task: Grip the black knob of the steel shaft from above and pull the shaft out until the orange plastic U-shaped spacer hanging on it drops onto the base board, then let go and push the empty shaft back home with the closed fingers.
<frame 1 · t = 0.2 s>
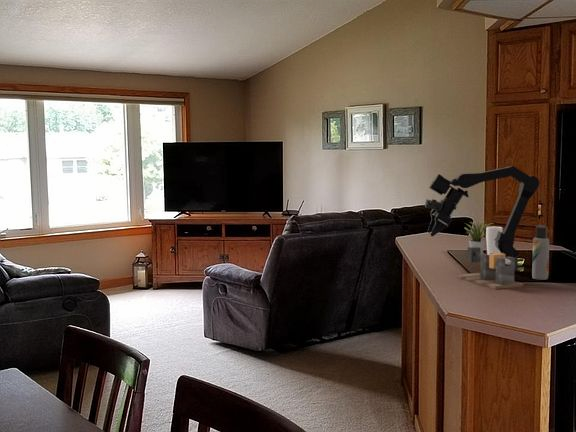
hand: (429, 234, 263), 15 cm above the table, tool tilted 30°, fingers open, 9 cm apart
shaft stand: (495, 283, 237), on the table
spacer: (497, 267, 235), point 6 cm above the table, touching shaft
lotion bottle: (540, 278, 245), on the table
shaft: (489, 258, 239), point 9 cm above the table, slide at 0.0 cm, touching spacer
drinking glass: (493, 262, 282), on the table
house plant: (479, 254, 303), on the table
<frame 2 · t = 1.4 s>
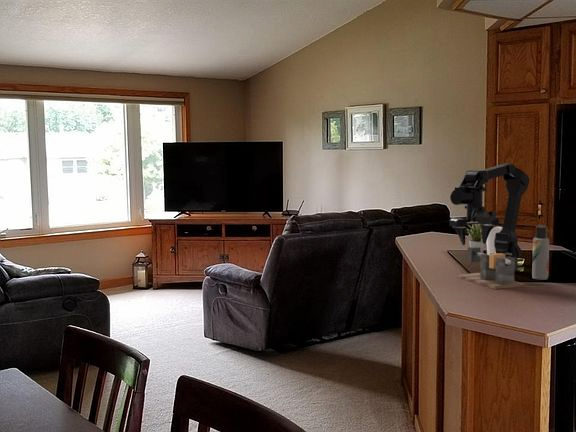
hand: (473, 244, 248), 13 cm above the table, tool pointing down, fingers open, 9 cm apart
nothing on the table moved.
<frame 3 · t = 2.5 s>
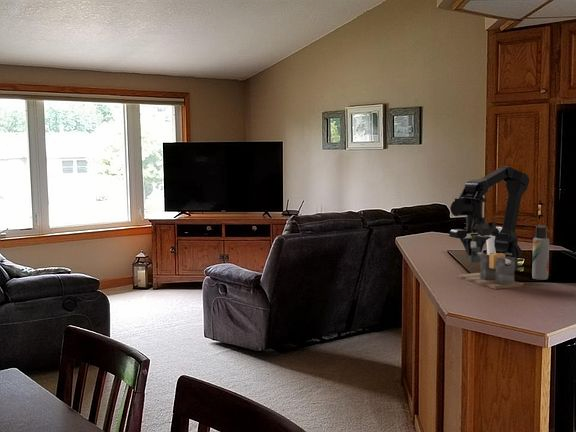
hand: (473, 255, 248), 9 cm above the table, tool pointing down, fingers closed on shaft, 4 cm apart
shaft: (489, 258, 239), point 9 cm above the table, slide at 0.0 cm, touching gripper, spacer
everything else where it was.
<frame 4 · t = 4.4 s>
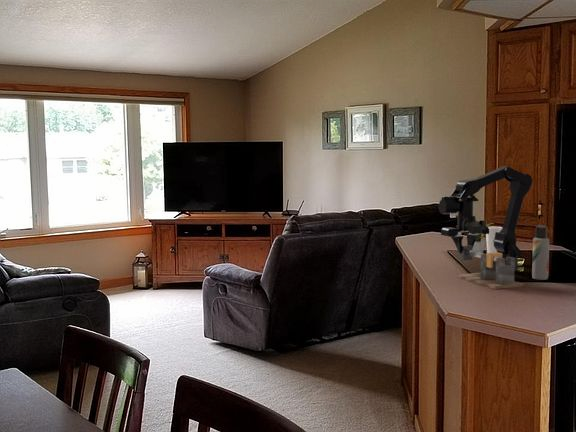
hand: (465, 252, 254), 8 cm above the table, tool pointing down, fingers closed on shaft, 4 cm apart
spacer: (494, 266, 237), point 6 cm above the table
shaft: (481, 256, 244), point 9 cm above the table, slide at 5.1 cm, touching gripper
everything else where it was.
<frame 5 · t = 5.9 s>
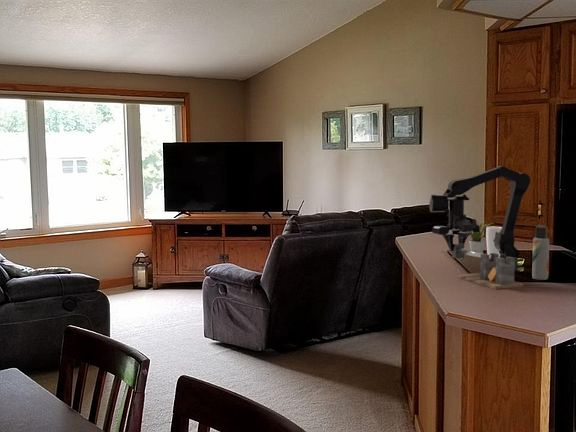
hand: (456, 250, 259), 9 cm above the table, tool pointing down, fingers closed on shaft, 4 cm apart
spacer: (494, 278, 237), point 2 cm above the table, tilted 41°, touching shaft stand
shaft: (472, 254, 249), point 9 cm above the table, slide at 10.4 cm, touching gripper
everything else where it was.
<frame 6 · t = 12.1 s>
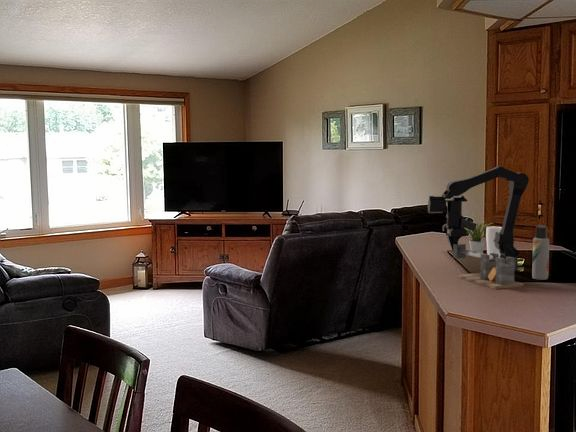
hand: (453, 251, 261), 8 cm above the table, tool pointing down, fingers closed
shaft: (474, 254, 248), point 9 cm above the table, slide at 9.6 cm, touching gripper
everything else where it was.
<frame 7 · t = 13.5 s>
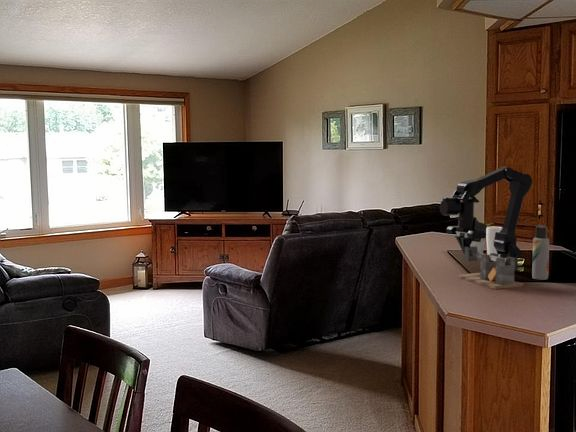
hand: (465, 254, 253), 8 cm above the table, tool pointing down, fingers closed
shaft: (486, 257, 241), point 9 cm above the table, slide at 2.0 cm, touching gripper
everything else where it was.
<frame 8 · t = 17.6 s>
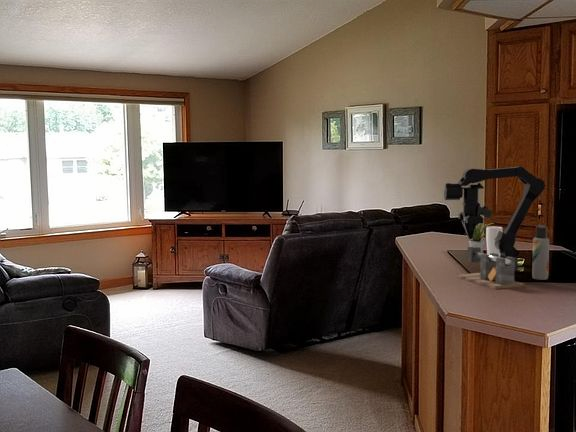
hand: (470, 238, 260), 13 cm above the table, tool pointing down, fingers closed
shaft: (489, 258, 239), point 9 cm above the table, slide at 0.0 cm
everything else where it was.
at the end: spacer point 1.8 cm above the table; spacer inside the target area on the shaft stand (1.2 cm from its centre), point 1.8 cm above the shaft stand's base; shaft slide at 0.0 cm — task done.
